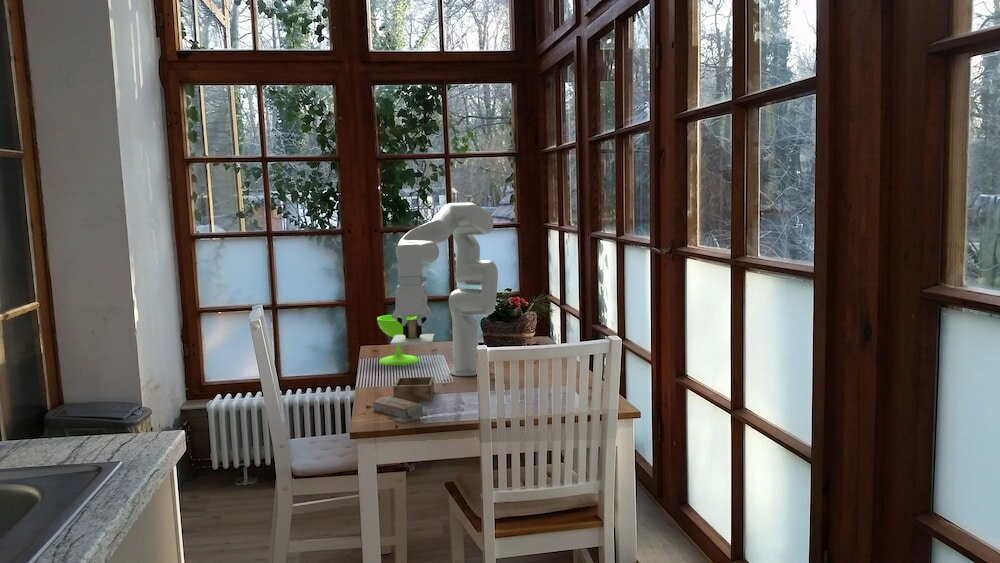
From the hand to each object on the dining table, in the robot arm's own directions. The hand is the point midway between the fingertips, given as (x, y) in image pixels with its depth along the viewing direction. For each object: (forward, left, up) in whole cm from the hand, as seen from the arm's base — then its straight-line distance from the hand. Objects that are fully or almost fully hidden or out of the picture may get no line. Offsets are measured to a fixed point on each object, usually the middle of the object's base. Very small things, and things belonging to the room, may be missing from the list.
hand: (412, 336), depth 250 cm
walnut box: (0, 0, -21) cm, 21 cm away
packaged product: (+4, +17, -21) cm, 28 cm away
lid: (0, 0, -1) cm, 1 cm away
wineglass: (+12, -60, -21) cm, 65 cm away
